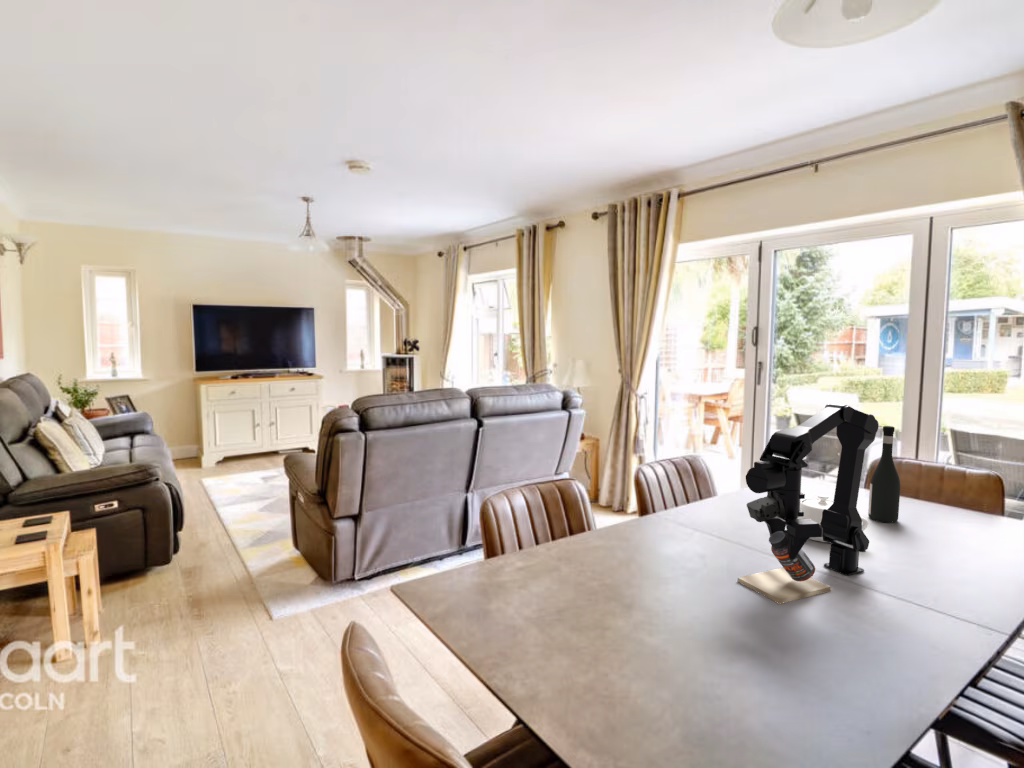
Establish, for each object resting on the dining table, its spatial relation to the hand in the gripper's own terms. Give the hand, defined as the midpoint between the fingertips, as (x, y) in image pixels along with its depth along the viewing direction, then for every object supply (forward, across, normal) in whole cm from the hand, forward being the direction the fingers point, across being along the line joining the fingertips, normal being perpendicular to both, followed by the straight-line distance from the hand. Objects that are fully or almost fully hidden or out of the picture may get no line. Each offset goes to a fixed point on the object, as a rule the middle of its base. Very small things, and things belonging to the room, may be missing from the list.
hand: (783, 553), depth 128 cm
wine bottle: (+9, -43, +60) cm, 74 cm away
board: (+8, -1, +1) cm, 8 cm away
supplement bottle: (+5, 0, +5) cm, 7 cm away
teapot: (+9, -31, +30) cm, 44 cm away
